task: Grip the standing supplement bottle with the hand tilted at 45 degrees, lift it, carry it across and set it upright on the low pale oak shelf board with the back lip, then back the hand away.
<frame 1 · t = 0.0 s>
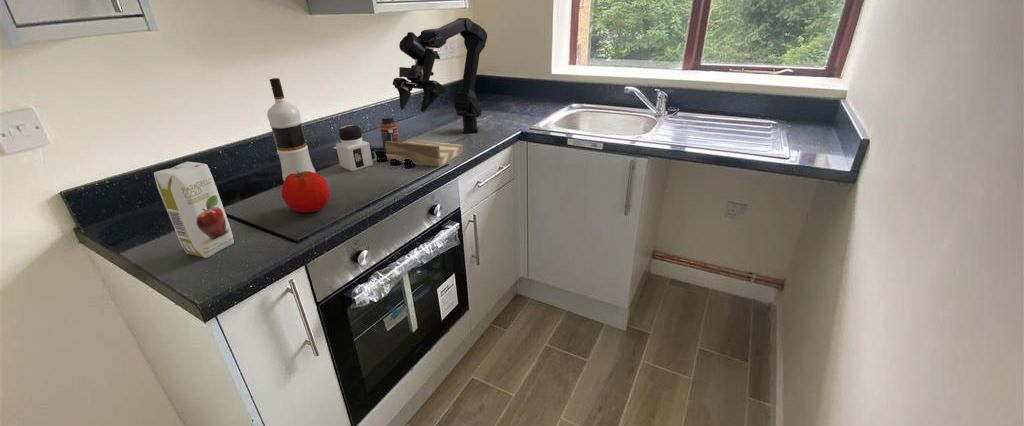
hand: (411, 110, 148), 15 cm above the worktop, tool tilted 35°, fingers open, 9 cm apart
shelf: (426, 156, 151), on the worktop
vodka: (300, 180, 135), on the worktop
tomato: (310, 210, 115), on the worktop
container: (356, 166, 145), on the worktop
juice carton: (211, 249, 98), on the worktop
supplement bottle: (392, 148, 161), on the worktop
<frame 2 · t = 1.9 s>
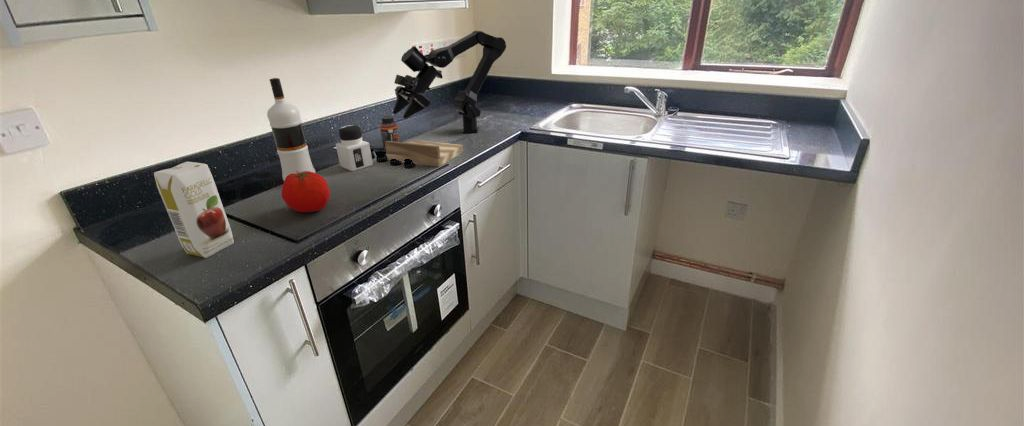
hand: (398, 115, 159), 11 cm above the worktop, tool tilted 45°, fingers open, 9 cm apart
nothing on the worktop moved.
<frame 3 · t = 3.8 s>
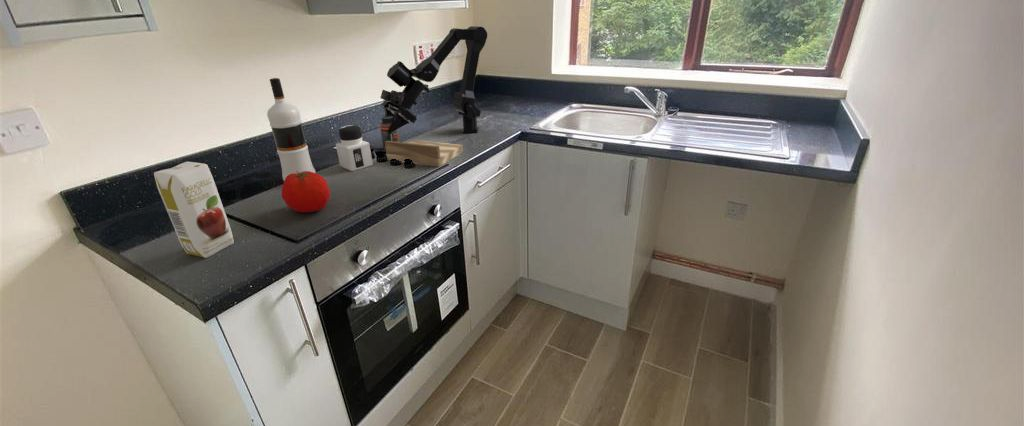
hand: (385, 130, 158), 7 cm above the worktop, tool tilted 45°, fingers closed on supplement bottle, 6 cm apart
supplement bottle: (392, 148, 161), on the worktop, touching gripper
everything else where it was.
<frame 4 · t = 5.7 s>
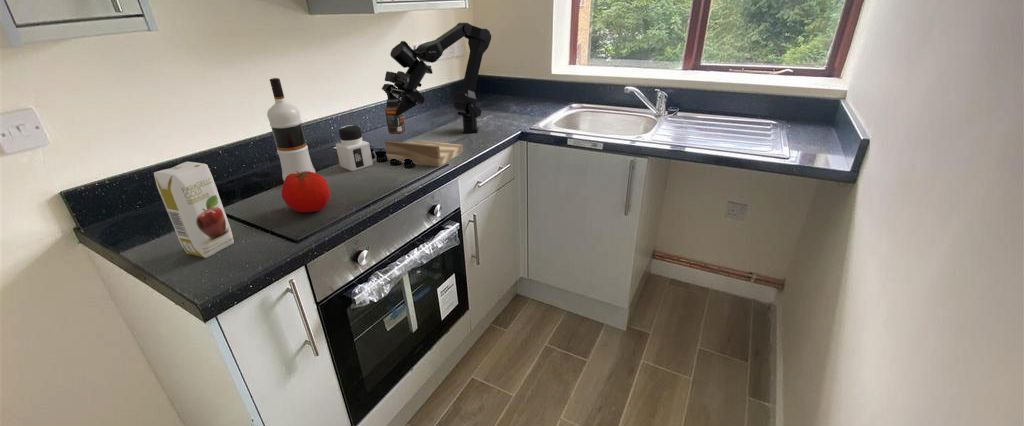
hand: (391, 114, 151), 13 cm above the worktop, tool tilted 45°, fingers closed on supplement bottle, 6 cm apart
supplement bottle: (397, 133, 155), point 6 cm above the worktop, touching gripper
everything else where it was.
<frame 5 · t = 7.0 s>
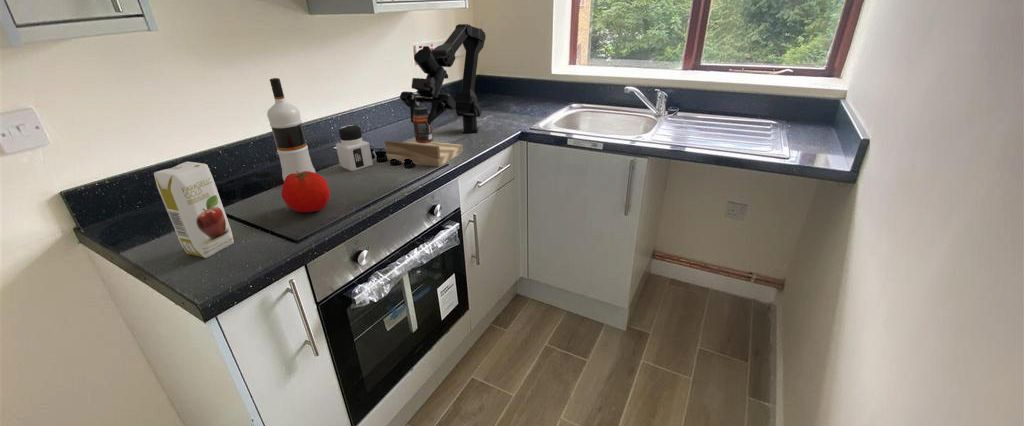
hand: (420, 122, 145), 12 cm above the worktop, tool tilted 45°, fingers closed on supplement bottle, 6 cm apart
supplement bottle: (424, 141, 149), point 5 cm above the worktop, touching gripper
everything else where it was.
when the fingers open (10 cm above the worktop, at t = 7.8 s): supplement bottle stays where it is, resting on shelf.
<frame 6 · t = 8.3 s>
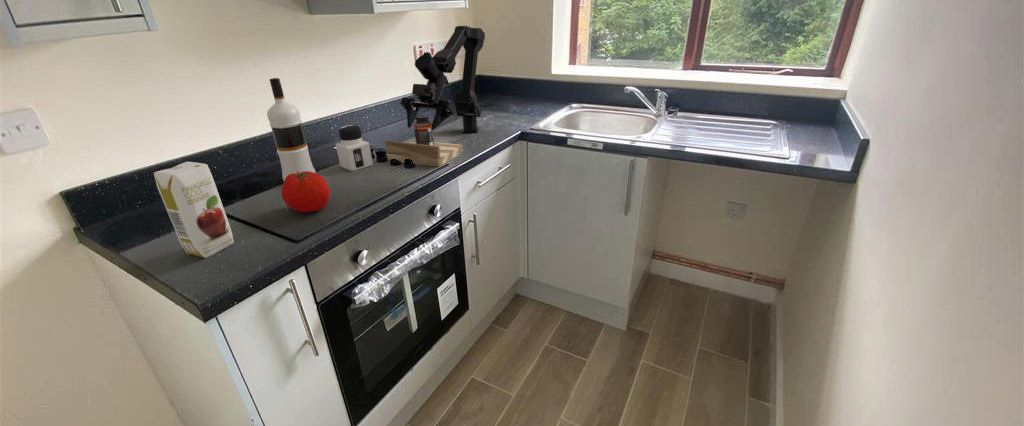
hand: (420, 128, 146), 10 cm above the worktop, tool tilted 45°, fingers open, 9 cm apart
supplement bottle: (425, 149, 151), point 2 cm above the worktop, touching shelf
everything else where it was.
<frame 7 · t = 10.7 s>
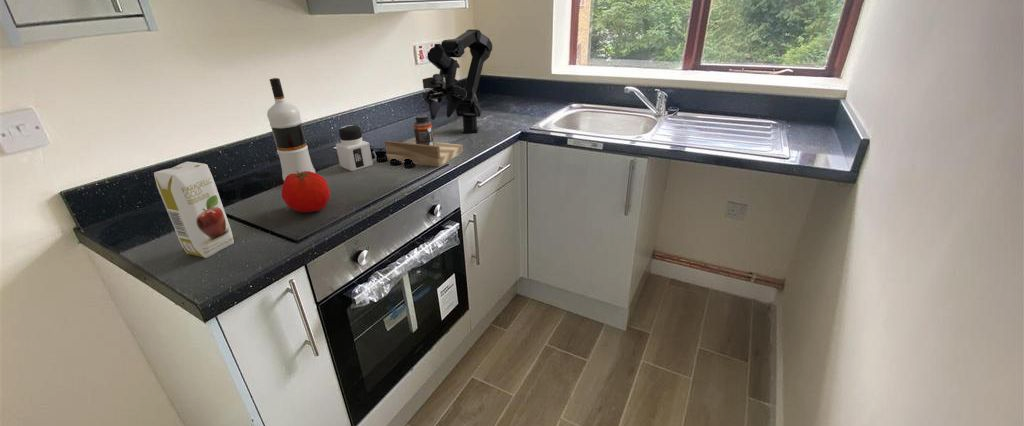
hand: (440, 118, 155), 11 cm above the worktop, tool tilted 30°, fingers open, 9 cm apart
nothing on the worktop moved.
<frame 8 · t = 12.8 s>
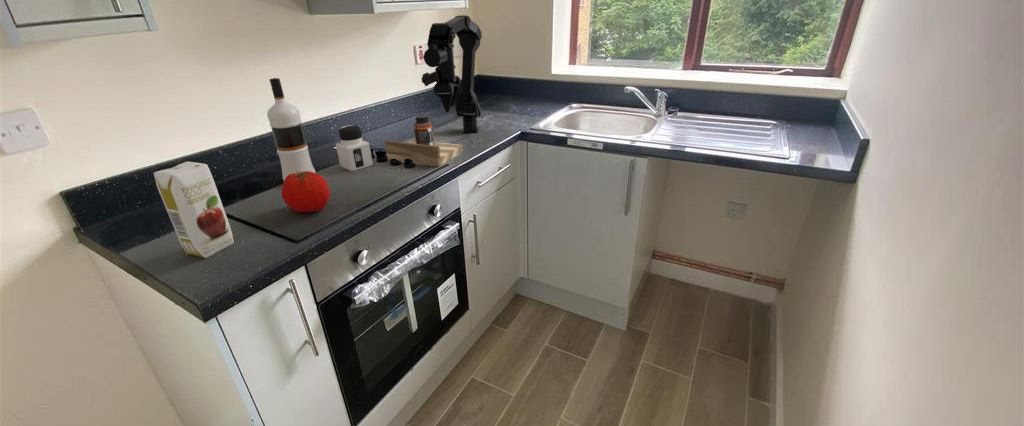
hand: (449, 109, 157), 13 cm above the worktop, tool pointing down, fingers open, 9 cm apart
nothing on the worktop moved.
at the end: supplement bottle inside the target area on the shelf (0.2 cm from its centre), point 2.3 cm above the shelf's base; supplement bottle tilted 0°; the gripper is holding nothing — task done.
